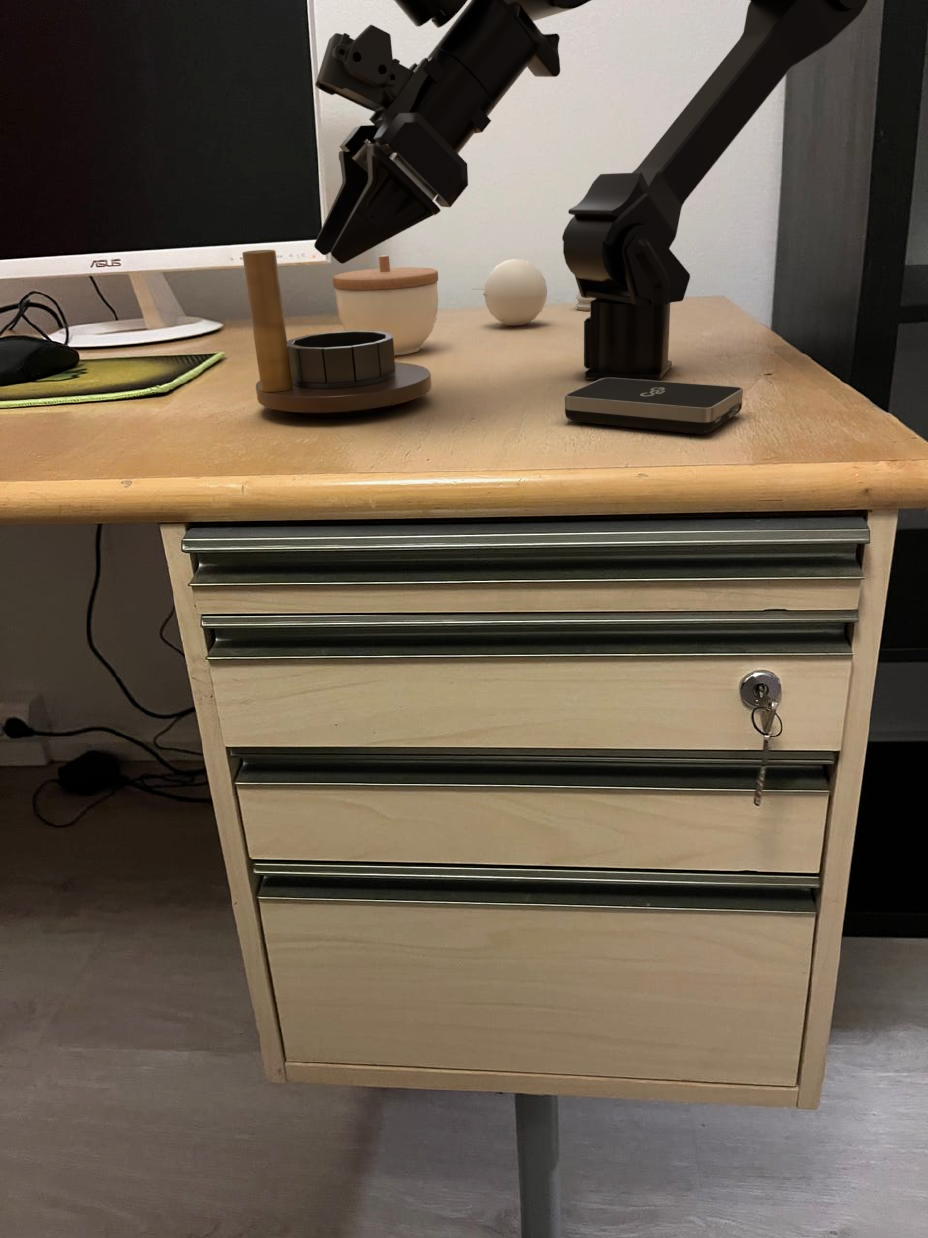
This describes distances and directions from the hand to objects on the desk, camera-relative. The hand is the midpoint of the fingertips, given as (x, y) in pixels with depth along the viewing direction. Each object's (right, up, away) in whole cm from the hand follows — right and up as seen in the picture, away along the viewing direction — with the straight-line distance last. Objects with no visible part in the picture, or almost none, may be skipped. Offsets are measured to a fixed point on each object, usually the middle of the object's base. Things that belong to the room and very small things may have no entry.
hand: (326, 254), depth 71 cm
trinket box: (+3, +1, +29) cm, 30 cm away
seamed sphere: (+15, +8, +42) cm, 45 cm away
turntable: (+1, -9, +6) cm, 11 cm away
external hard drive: (+24, -13, -2) cm, 27 cm away
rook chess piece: (+27, +12, +51) cm, 58 cm away
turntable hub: (+1, -10, +7) cm, 12 cm away
